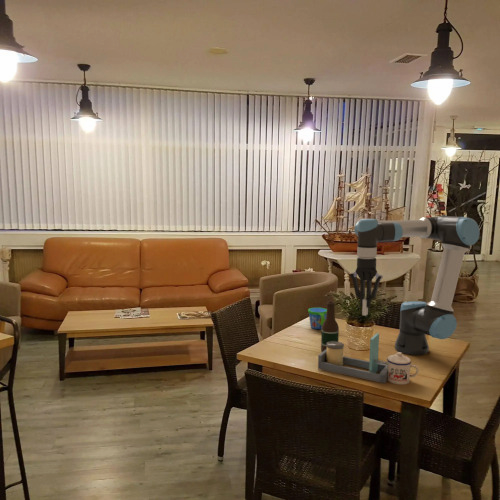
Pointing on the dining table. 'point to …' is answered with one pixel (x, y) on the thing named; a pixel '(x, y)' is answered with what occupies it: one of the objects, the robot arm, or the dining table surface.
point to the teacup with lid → (399, 369)
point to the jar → (334, 353)
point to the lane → (351, 371)
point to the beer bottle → (329, 327)
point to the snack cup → (317, 317)
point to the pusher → (374, 354)
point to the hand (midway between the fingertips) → (365, 314)
